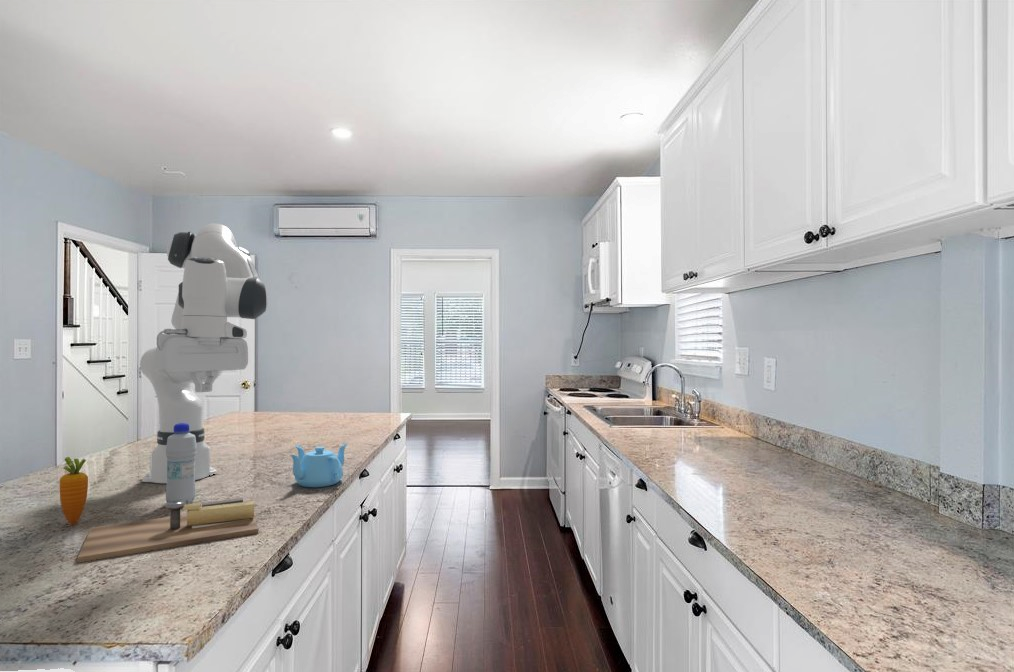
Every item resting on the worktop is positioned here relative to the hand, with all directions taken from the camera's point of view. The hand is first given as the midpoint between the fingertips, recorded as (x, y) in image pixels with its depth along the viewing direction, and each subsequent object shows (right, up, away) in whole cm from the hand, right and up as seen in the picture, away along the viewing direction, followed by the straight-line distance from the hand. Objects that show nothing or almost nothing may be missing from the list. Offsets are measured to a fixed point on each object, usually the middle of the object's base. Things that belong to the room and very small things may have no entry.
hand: (203, 391), depth 119 cm
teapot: (+13, -30, +35) cm, 48 cm away
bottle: (-13, -29, +14) cm, 35 cm away
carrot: (-27, -29, -3) cm, 40 cm away
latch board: (-2, -29, -6) cm, 30 cm away
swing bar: (+4, -28, -3) cm, 28 cm away
